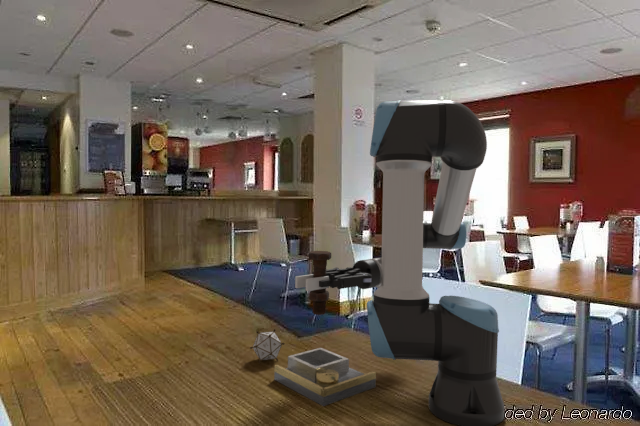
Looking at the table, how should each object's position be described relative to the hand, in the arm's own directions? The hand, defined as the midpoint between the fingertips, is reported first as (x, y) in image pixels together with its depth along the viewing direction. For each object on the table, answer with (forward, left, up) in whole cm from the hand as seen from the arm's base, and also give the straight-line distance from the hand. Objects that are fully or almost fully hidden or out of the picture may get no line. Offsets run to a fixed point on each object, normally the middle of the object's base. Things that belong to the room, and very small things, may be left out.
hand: (301, 283), depth 113 cm
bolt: (0, -5, -8) cm, 10 cm away
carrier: (-4, -4, -24) cm, 24 cm away
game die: (+17, -2, -24) cm, 30 cm away
